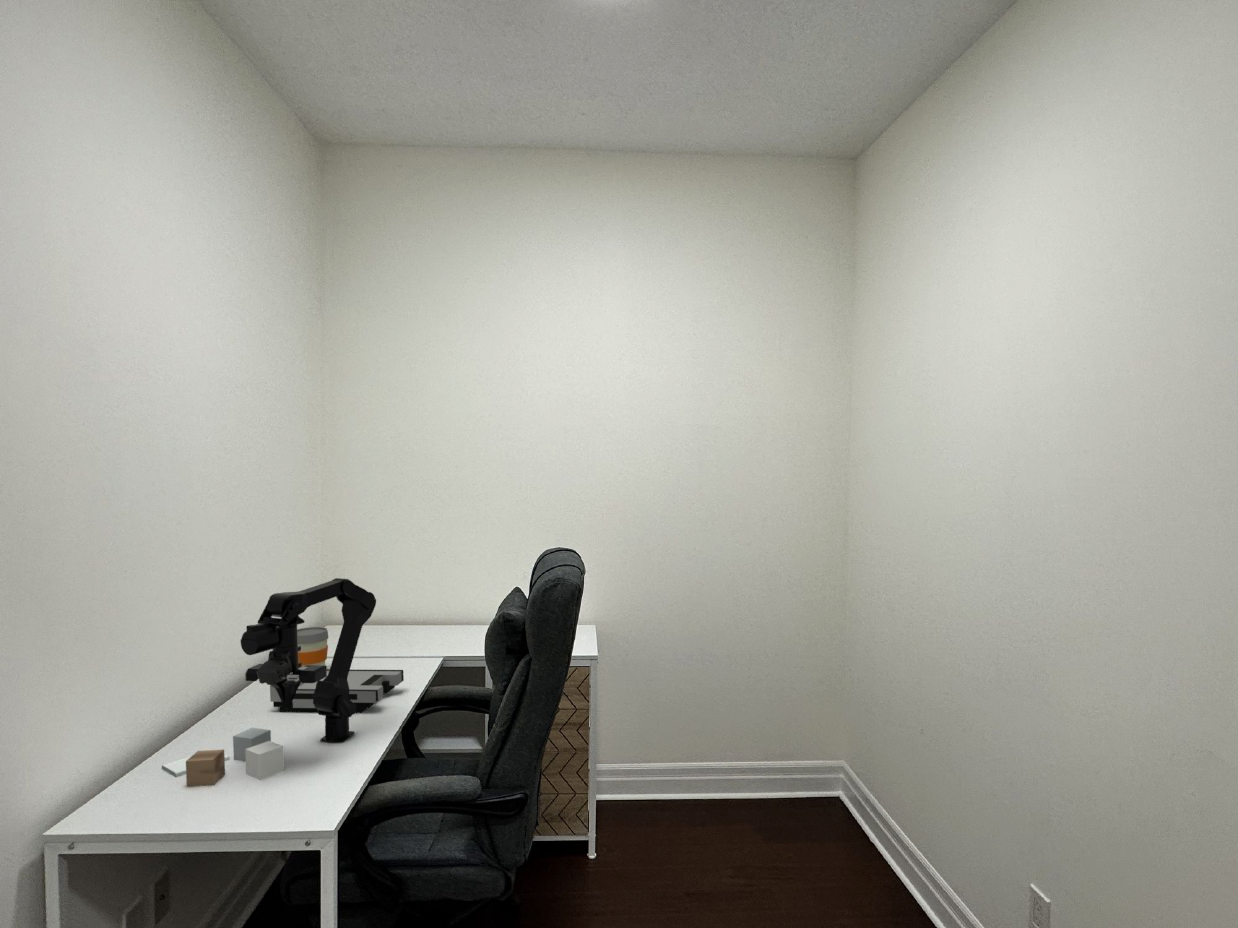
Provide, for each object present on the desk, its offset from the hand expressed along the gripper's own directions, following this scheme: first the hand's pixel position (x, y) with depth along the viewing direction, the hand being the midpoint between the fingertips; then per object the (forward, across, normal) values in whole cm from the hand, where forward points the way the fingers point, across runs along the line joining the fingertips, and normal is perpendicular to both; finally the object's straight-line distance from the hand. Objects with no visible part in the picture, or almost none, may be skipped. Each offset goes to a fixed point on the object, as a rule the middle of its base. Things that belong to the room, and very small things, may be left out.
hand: (287, 707), depth 189 cm
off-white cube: (+13, -2, -7) cm, 15 cm away
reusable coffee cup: (+13, -36, +66) cm, 76 cm away
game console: (+13, -11, +42) cm, 46 cm away
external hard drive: (+14, -22, -5) cm, 26 cm away
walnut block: (+13, -13, -13) cm, 22 cm away
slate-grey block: (+13, -11, +1) cm, 17 cm away
